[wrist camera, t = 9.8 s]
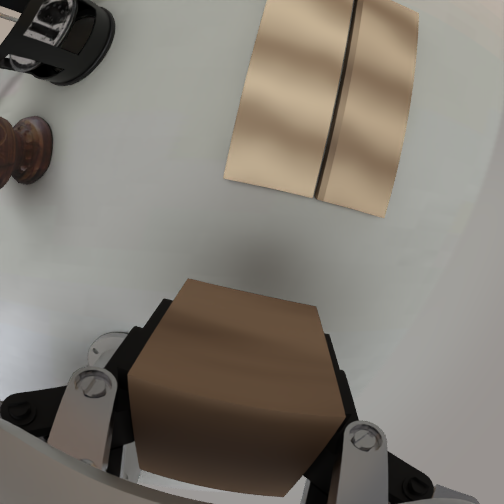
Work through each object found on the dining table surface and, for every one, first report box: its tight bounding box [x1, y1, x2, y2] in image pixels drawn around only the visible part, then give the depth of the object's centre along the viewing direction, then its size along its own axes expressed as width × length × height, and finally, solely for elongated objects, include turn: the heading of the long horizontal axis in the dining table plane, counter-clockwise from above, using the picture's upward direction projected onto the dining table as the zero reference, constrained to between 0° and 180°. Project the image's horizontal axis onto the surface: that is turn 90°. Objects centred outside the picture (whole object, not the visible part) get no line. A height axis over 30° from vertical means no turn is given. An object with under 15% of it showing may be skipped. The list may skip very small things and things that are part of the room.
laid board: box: [314, 0, 419, 218], centre depth 19 cm, size 20×6×2 cm, turn 168°
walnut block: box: [127, 278, 346, 497], centre depth 8 cm, size 4×4×5 cm
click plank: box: [223, 0, 353, 198], centre depth 19 cm, size 20×7×2 cm, turn 168°
